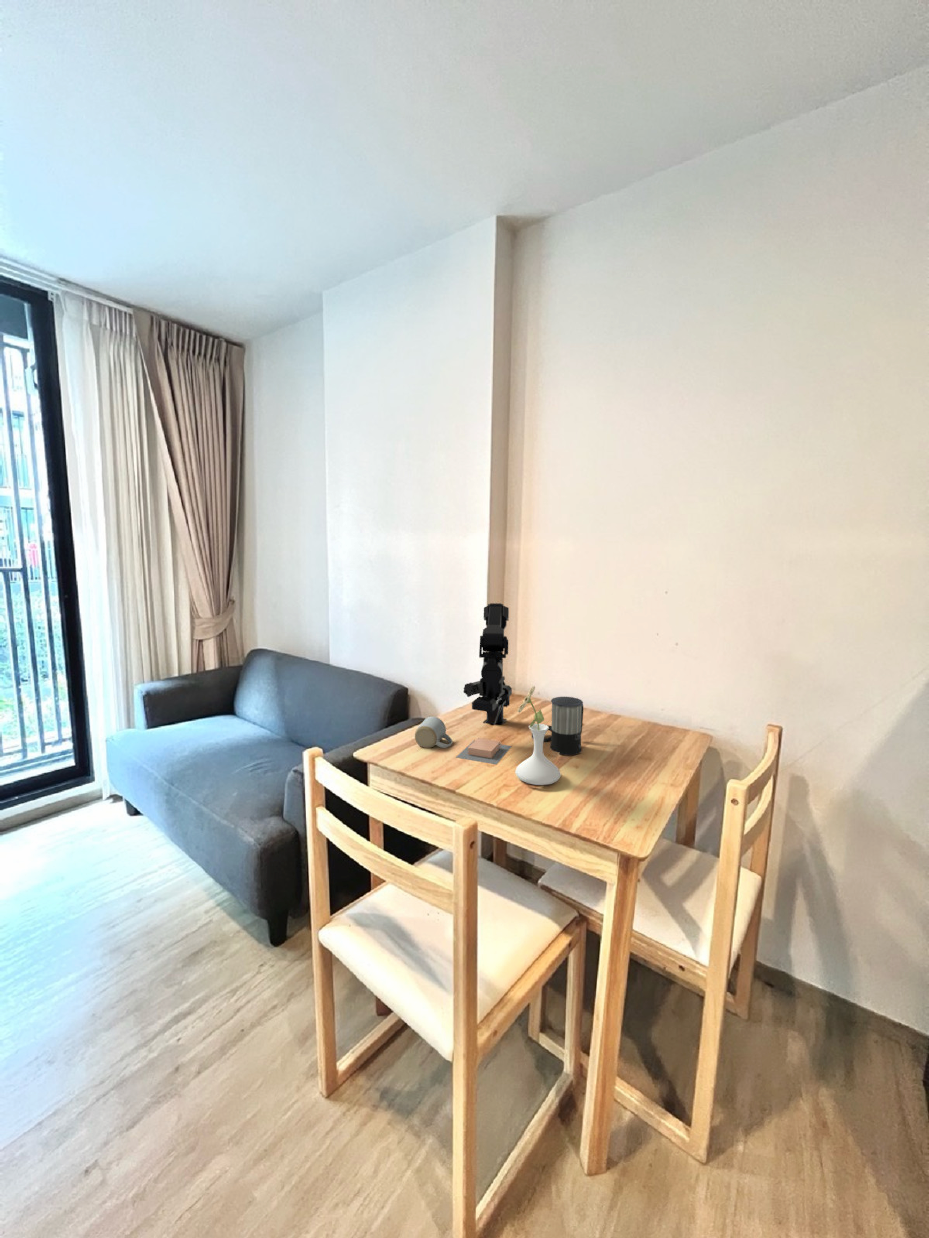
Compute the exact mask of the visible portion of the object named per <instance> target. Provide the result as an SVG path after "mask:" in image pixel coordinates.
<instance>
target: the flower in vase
mask: <svg viewBox="0 0 929 1238" xmlns="http://www.w3.org/2000/svg"><path fill="white" fill-rule="evenodd" d="M535 689H536V686H535V685H531V687H530V689H529V691H528V693H527V695H526V696H525V697H524V699H523V701H522V703H521V704H520V705H519V706H518V709H517V710H516V712H517V713H518V714H520V713H521V712H523V709H524V708H525V707H526V705H527V704H530V705H531V707H532V709H533V712H534V715H533V718H534V719H533V720H532V721H531V723H530V724H529V725H528V728H529V730H530V732H531V735H532V734H533V738H534V739H533V738H532V739H533V752H532V755H531V756H529V757H528V758H526V759H524V760H523V761H522V762H521V763H519V764H518V765H516V768H515V771H514V772H515V775H516V777H517V778H518V779H519V780H520V781H522V782H525V784H531V785H536V786H546V785H551V784H554V783H556V782H558V781H559V779H560V778H561V776H562V775H561V774H562V773H561V772H560V769H559V768H558V766H556V765H555V763H554V762H552V761H551V760H549V759H548V758H547V757H546V756H545V754H544V742H543V740H544V738H545V736H546V733H547V731H549V730H548V729H549V727H548V726H549V725H548V726H547V724H544V723H543V721H544V720H545V717H544V715H543V713H542V710H541V709H539V710H538V711H536V708H535V707H534V704H533V703H532V699H531V697H532V695H533V694H534V691H535Z"/></svg>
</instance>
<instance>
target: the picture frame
mask: <svg viewBox="0 0 929 1238" xmlns="http://www.w3.org/2000/svg"><path fill="white" fill-rule="evenodd" d="M474 740H475V741H474ZM474 740H473V741H474V742H473V741H472V742H473V743H472V742H471V743H472V744H471V743H470V744H471V745H470V744H469V745H470V746H469V747H468V754H469V755H475V756H481V757H487V758H492V757H493V756H494V755H495V753H496V752H497V751H498V750H499V749H500V748H501V740H495V739H488V738H481V737H477V738H476V739H474Z"/></svg>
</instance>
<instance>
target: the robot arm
mask: <svg viewBox="0 0 929 1238" xmlns="http://www.w3.org/2000/svg"><path fill="white" fill-rule="evenodd" d="M509 610H510V609H509V607H507V606H505V605H504V604H503V603H499V602H498V603H497V602H495V603H493V602H492V603H491V602H490V603H488V604H487V605H486V606H484V607H483V621H485V626H486V627H485V628H483V629H482V635H480V636H479V651H478V652H479V653H478V654H479V655H478V657H479V659H480V658H481V659H482V658H483V659H482V661H483V664H482V668H481V671H480V676H481V678H480V679H479V680H477V681H474V682H469V683H465V684H464V687H463V693H464V694H465V695H466V696H467V697H468V698H470V697H472V696H474V695H478V694H479V695H478V697H476V698H475V699H474V700H472V702H471V709H472V710H475V711H480V712H486V718H485V720H484V721H482V723H483V724H487V725H488V724H489V725H490V726H502V725H503V724H504V723H506V722H507V720H508V719H507V718H504V708H508V707H509V706H510V697H511V695H513V694H512V693H513V692H512V691H513V688H512V686H510V685H508V684H506V683H505V680H506V677H505V675H503V670H504V663H503V662H504V659H506V658H507V655H509V639H508V637H507V635H505V630H506V628H507V625H508V623H507V622H509V618H510V616H509V615H510V611H509Z"/></svg>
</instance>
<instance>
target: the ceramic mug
mask: <svg viewBox="0 0 929 1238" xmlns="http://www.w3.org/2000/svg"><path fill="white" fill-rule="evenodd" d="M446 732H447V727H446V725H445V723H444V721H443V720H442V719H441V718H439V717H437V716H434V715H433V716H427V717H425V719H424V720H423V721H422V722H421V723H420V725H419V726H417V728H416V730H415V733H414V740H415V742H416V743H417V745H418V746H419V747H421V748H424V749H431V748H433V747H435V746H437V747H438V748H439V747H440V748H441V749H446V748H449V747H451V746H452V744H453V739H452V738H451V737H450V736H449V735H448V734H447V733H446ZM442 739H444V740H445V741H447V742H448V743H444V742H441V741H442Z"/></svg>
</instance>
